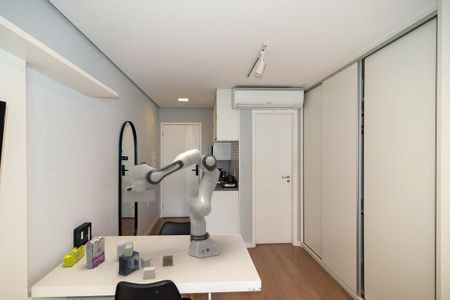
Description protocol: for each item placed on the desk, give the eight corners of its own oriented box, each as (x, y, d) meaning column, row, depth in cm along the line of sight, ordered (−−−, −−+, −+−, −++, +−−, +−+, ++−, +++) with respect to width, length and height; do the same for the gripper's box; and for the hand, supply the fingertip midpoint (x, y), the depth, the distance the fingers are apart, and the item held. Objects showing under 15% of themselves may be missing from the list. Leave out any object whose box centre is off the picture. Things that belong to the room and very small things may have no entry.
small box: (125, 276, 138) (125, 259, 138) (118, 273, 141) (117, 256, 141) (139, 268, 147) (139, 252, 147) (132, 266, 151) (132, 249, 151)
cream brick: (144, 275, 139) (144, 267, 139) (154, 274, 141) (154, 266, 141) (143, 279, 136) (143, 270, 135) (154, 278, 137) (154, 269, 137)
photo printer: (132, 255, 166) (132, 238, 165) (133, 257, 162) (133, 240, 162) (116, 259, 160) (116, 241, 160) (117, 261, 156) (117, 243, 156)
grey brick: (146, 263, 155) (146, 255, 155) (150, 266, 150) (150, 258, 150) (140, 265, 152) (140, 257, 152) (144, 268, 147) (144, 260, 147)
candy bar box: (98, 260, 159) (98, 235, 159) (105, 260, 158) (104, 236, 158) (85, 268, 148) (85, 242, 148) (92, 269, 147) (92, 243, 147)
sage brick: (133, 251, 148) (133, 244, 148) (131, 256, 142) (131, 247, 142) (126, 252, 147) (126, 244, 147) (124, 256, 141) (124, 248, 141)
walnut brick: (163, 263, 154) (163, 256, 154) (172, 262, 155) (172, 255, 155) (162, 266, 150) (162, 258, 150) (172, 265, 151) (172, 258, 151)
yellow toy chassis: (72, 267, 149) (72, 254, 149) (62, 267, 149) (62, 254, 149) (84, 255, 165) (84, 244, 165) (76, 256, 165) (76, 244, 165)
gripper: (155, 186, 164) (155, 206, 164) (124, 187, 160) (124, 207, 160) (155, 187, 157) (155, 208, 158) (122, 188, 154) (122, 210, 154)
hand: (139, 208), depth 159 cm, fingers open, 8 cm apart
